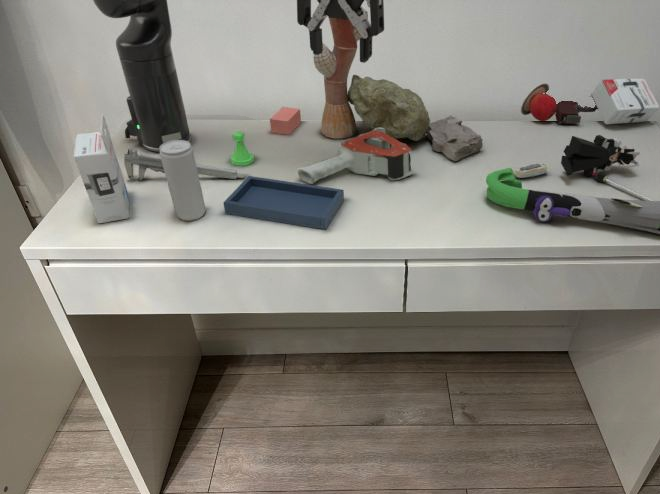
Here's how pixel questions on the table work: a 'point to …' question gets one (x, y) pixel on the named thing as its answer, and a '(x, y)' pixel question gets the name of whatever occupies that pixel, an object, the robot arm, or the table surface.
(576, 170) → the toy
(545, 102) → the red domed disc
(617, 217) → the toy
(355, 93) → the rock
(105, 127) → the product box
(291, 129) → the eraser
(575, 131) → the table surface
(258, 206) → the tray
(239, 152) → the game piece
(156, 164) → the caliper
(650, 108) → the ink box
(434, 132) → the stone
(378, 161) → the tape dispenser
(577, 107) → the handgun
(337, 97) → the plant stem model
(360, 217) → the table surface
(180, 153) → the beverage can
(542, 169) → the bacterium model
